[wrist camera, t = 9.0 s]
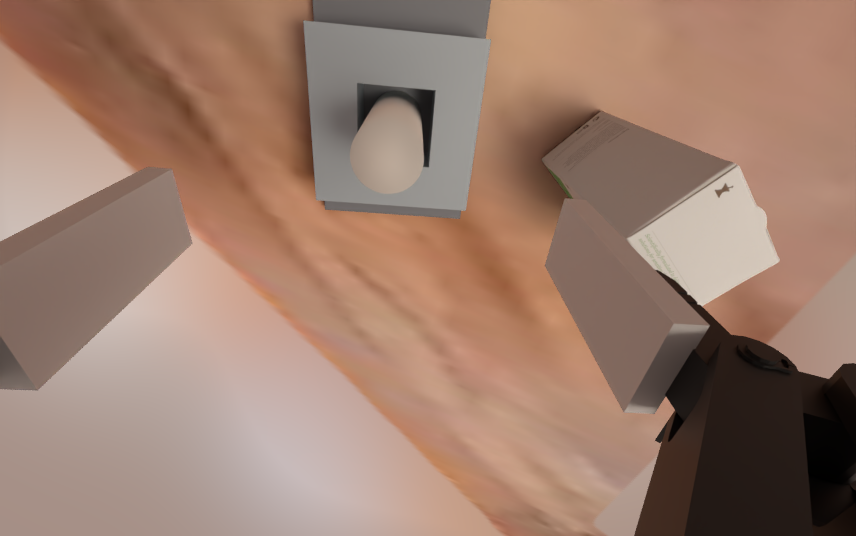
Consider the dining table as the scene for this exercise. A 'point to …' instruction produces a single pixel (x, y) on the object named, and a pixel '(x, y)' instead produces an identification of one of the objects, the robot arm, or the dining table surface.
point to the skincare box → (668, 203)
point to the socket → (402, 71)
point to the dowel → (389, 144)
